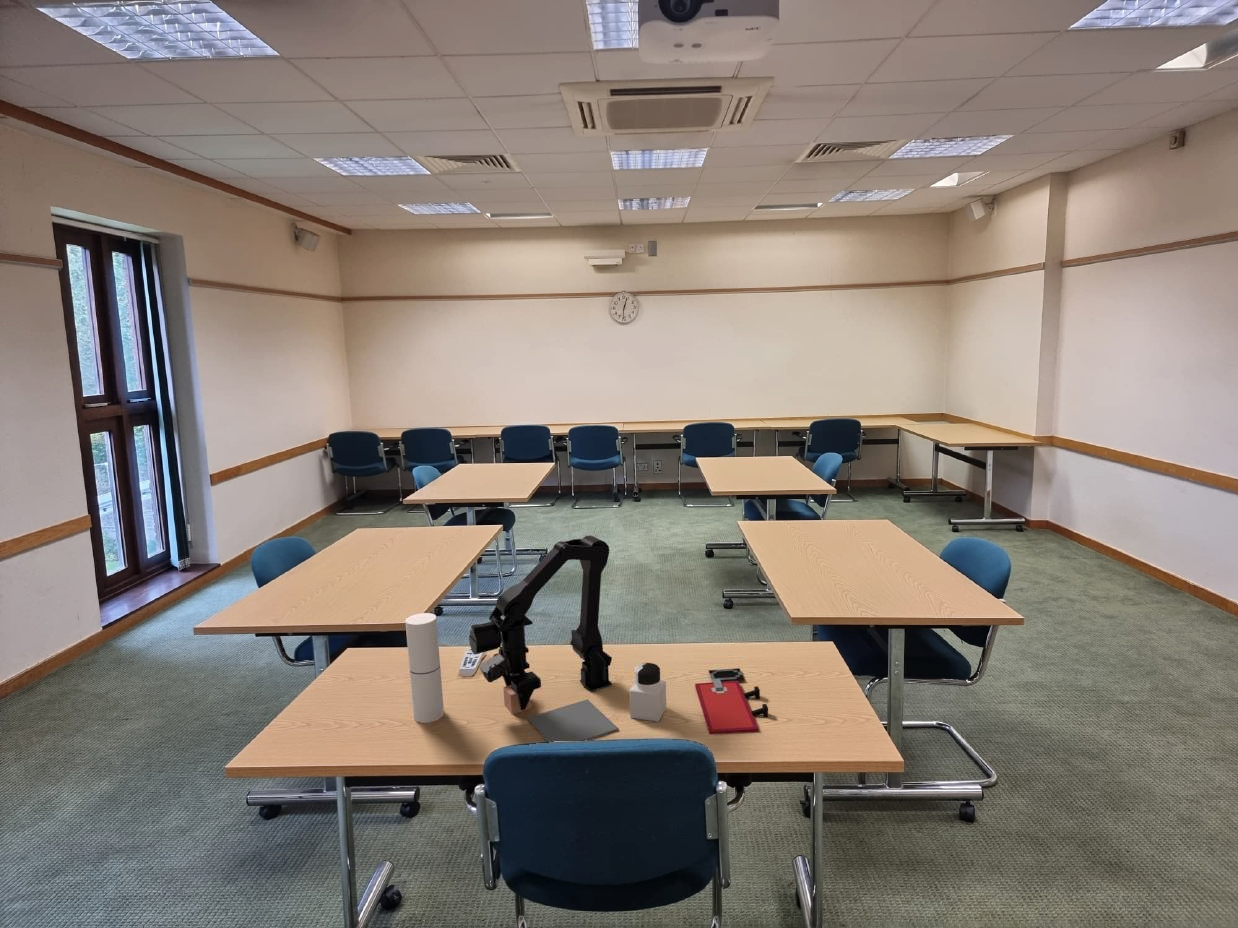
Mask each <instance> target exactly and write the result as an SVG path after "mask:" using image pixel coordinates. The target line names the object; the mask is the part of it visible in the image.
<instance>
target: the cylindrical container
mask: <svg viewBox="0 0 1238 928" xmlns="http://www.w3.org/2000/svg"><path fill="white" fill-rule="evenodd" d="M437 623H438V622H437V615H436V614H434V613H430V612H423V613H422V612H421V613H416V614H415V613H414V614H412V615H410V616H408V617H407V618H406V619H405V631H406V644H407V655H408V664H409V665H408V667H409V676H410V677H409V678H410V679H409V680H410V688H411V690H410V691H411V701H412V711H413V719H414V721H415V722H417V723H420V724H429V723H433V722H436V721H439V720H440V719H441V718H442V717H443V716H444V715H445V709H444V707H445V706H444V695H443V685H442V683H443V682H442V673H441V671H442V670H441V660H440V659H441V658H440V647H439V636H438V634H439V633H438V624H437Z"/></svg>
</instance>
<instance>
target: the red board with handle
mask: <svg viewBox="0 0 1238 928" xmlns="http://www.w3.org/2000/svg"><path fill="white" fill-rule="evenodd" d="M708 673H709V676H710V678H711V682H698V683H695V684H694V688H695V690H696V694H697V697H698V701H699V704H700V708H701V710H702V714H703V717H704V720H705V723H706V727H707V730H708V733H709V735H721V734H722V735H723V734H738V733H739V734H742V733H758V732H759V731H760V730H759V726H758V724H757V722H756V720H755V718H754V717H756V716H760V715H763V717H764V718H769V706H768V705H767V703H762V706H761V707H760V708H757V709H754V710H752V709H751V708H750V705H749V702H748V700H747V699H748V698H751V697H754V698H755V700H761V698H760V697H761V695H760V694H761V690H760V688H759V686H758V685H757V686H753V688H754V689H753V690H750V691H747V692H744V691H743V688H742V686H741V684H740V682H739V681H745V678H744V675H743V673H742V671H741V668H739V667H737V668H736V667H735V668H724V669H723V668H722V669H721V668H720V669H710V670H708Z"/></svg>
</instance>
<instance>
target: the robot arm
mask: <svg viewBox="0 0 1238 928" xmlns="http://www.w3.org/2000/svg"><path fill="white" fill-rule="evenodd" d="M609 554H610V546H609V545H608V543H607V542H606V541H604V540H601V539H599V538H597V537H596V536H593V535H585V536H584V537H582V538H573V539H570V540H565V541H561V540H560V541H557V542H556V543H555V544H554V545H553V547H552V549H550V551H549V552H548V553H547V554H546V555H545V556H544V557H543V558H542V559H541V560H540V561H539V563H537V564H536V566H535V567H534V568H532V570H531V571H530V572H529V573H528V574H527V575H526V576H525V577H524V578H523V579H522V580H521V581H520V582H519V583H516V584H514V585H511V586H510V587H509V588H507V589H506V590H505V591H504V592H502V593H501V594H500V595H499V596H498V598H497V599H496V605H495V606H494V609H493V610H492V612H491V614H490V616H489V617H488V620H489V621H488V622H484V623H480V624H479V623H478V624H473V625H471V630H470V631H469V636H468V640H469V641H468V642H469V647H470V649H471V652H472V654H473V655H477V654H478V655H479V654H481V653H486V652H491V651H494V650H498V652H497V653H494V654H493V656H491V657H490V658H488V659H487V660H485V661H483V662H482V663H481V664H479V665H478V666H479V669H480V671H481V674H482V676H483V677H484V678H485V680H486V681H487V682H488V683H493V682H494V681H497V680H498V679H500V678H501V677H502V678H503V681H504V684H505V686H509V685H512V687H511V689H512V690H513V691H514V692H515V693H517V696H518V700H519V705H520V709H521V710H524V711H526V710H525V709H526V707H527V704H528V702H529V700H530V701H531V697H532V695H533V693H534V691H535V690H538V689H541V688H542V680H541V678H540V677H539V675H537V674H536V673H535V672H533V671H527V672H526V670H527V669H531V668H530V663H529V662H528V661H527V654H528V653H529V651H530V650H529V648H528V646H526V632H525V631H526V629H525V627H526V626H531V625H533V624H534V623H533V621H532V620H531V619H530V618H529V617H527V615H526V614H527V613H528V612H529V609H530V608H531V607H532V605H533V601H534V599H535V597H536V595H538V593H539V592H540V591H541V590H542V589H543V587H545V585H546V584H548V583H549V581H550V580H551V579H552V578H553V576H555V575H556V573H558V571H559V570H560V569H561V568H562V567H563V566H564V565H565V564H566V563H567V561H569V560H570V561H573V560H575V561H576V560H577V561H579V563H580V565H581V568H582V583H581V598H580V599H581V600H580V617H579V624H578V627H577V628H576V629H571V632H570V633H571V641H570V643H569V644H570V646H572V647H571V648H572V650H573V652H575V653H576V655H578V656H579V658H580V659H582V660H583V661H581V668H580V679H579V682H580V683H581V685H583V686H584V687H585V688H586V690H589V691H590V692H594V691H596V690H599V689H603V688H606V687H610V686H612V684H613V682H612V681H611V680H610V679H609V677H610V676H609V675H610V673H609V672H610V671H609V666H611V664H612V660H613V658H612V656H611V655H610V654H608V653H607V652H605V651H604V647H603V646H604V645H603V638H602V636H601V630H600V629H599V619H600V618H599V615H600V599H601V583H602V573H603V571H604V570H605V568H606V566H607V564H608V560H609V556H610V555H609ZM502 616H503V618H502Z"/></svg>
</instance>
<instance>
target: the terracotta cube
mask: <svg viewBox="0 0 1238 928" xmlns="http://www.w3.org/2000/svg"><path fill="white" fill-rule="evenodd" d="M511 687H512V685H509V686H506V685H505V686H503V702H504V707H505V708H506V709H507V710H508V711H509V713H510V714H511V715H513V714H517V713H519V712H523V711H527V710H530V709H532V707H531V705H532V704H531V699H530V700H529V702H528V704H527V707H526V709H525V710H521V709H520V705H519V700H518V696H517V693H515V692H514V691H513V690H512V689H511Z"/></svg>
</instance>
